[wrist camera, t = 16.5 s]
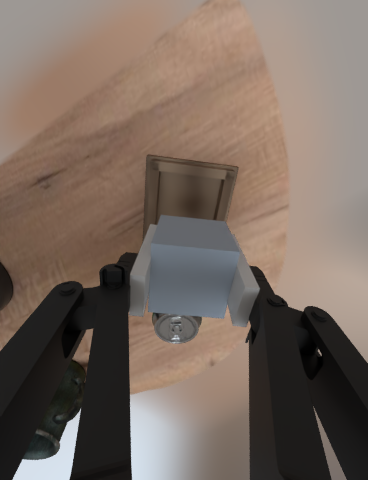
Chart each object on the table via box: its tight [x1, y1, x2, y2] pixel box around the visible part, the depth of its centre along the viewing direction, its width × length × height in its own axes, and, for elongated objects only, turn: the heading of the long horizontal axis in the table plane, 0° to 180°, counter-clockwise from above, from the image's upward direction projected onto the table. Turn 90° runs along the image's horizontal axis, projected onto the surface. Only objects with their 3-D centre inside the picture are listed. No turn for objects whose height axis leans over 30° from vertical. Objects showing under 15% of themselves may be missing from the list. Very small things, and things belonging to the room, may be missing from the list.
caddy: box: [143, 155, 238, 241], centre depth 29 cm, size 11×19×3 cm, turn 173°
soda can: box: [152, 312, 202, 344], centre depth 26 cm, size 5×5×12 cm
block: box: [148, 215, 240, 319], centre depth 15 cm, size 5×5×5 cm
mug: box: [23, 360, 85, 460], centre depth 39 cm, size 11×15×12 cm
